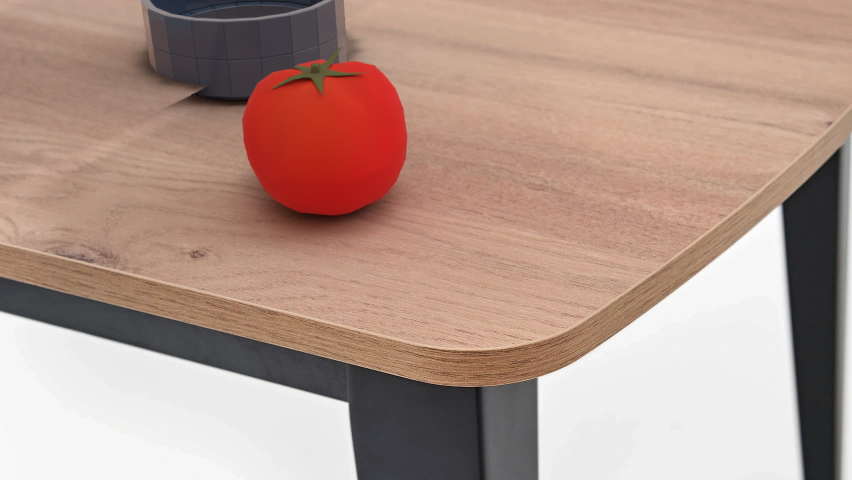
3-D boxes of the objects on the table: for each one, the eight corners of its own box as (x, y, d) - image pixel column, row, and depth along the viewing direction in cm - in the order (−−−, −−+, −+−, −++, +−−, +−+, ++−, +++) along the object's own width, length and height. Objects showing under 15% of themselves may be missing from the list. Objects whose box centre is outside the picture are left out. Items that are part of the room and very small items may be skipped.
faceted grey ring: (112, 85, 87) (98, 4, 84) (234, 30, 98) (226, -44, 95) (271, 118, 81) (263, 32, 79) (383, 56, 92) (379, -22, 89)
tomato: (394, 158, 75) (387, 28, 71) (430, 231, 67) (425, 87, 63) (243, 176, 73) (227, 42, 69) (260, 253, 65) (243, 105, 61)
